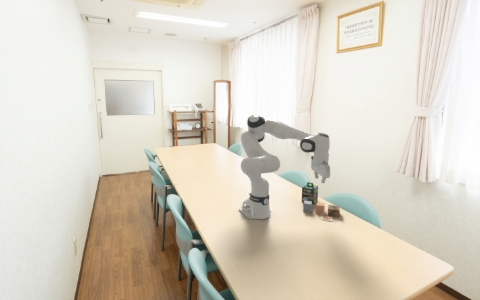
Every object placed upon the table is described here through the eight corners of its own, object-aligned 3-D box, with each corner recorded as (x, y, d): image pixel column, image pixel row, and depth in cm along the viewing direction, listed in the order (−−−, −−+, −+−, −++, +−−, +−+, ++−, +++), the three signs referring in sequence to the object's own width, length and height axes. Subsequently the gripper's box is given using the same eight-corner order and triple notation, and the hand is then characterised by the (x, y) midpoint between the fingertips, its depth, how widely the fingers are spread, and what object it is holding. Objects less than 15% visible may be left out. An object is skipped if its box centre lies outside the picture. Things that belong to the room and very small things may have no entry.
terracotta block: (316, 213, 174) (316, 205, 173) (316, 210, 179) (317, 202, 177) (323, 214, 172) (324, 206, 171) (324, 211, 177) (324, 203, 176)
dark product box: (317, 200, 195) (319, 181, 192) (313, 205, 187) (314, 185, 184) (305, 198, 200) (306, 179, 197) (301, 201, 193) (302, 182, 189)
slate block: (303, 211, 177) (303, 203, 175) (303, 208, 181) (304, 200, 180) (310, 212, 175) (311, 204, 174) (311, 209, 180) (311, 201, 178)
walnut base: (327, 216, 171) (328, 208, 170) (327, 211, 177) (328, 204, 176) (339, 217, 169) (339, 210, 167) (338, 213, 175) (339, 206, 174)
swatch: (320, 219, 165) (320, 219, 165) (320, 215, 171) (321, 215, 170) (332, 221, 163) (332, 220, 163) (332, 217, 168) (332, 216, 168)
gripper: (333, 163, 154) (332, 185, 157) (319, 155, 174) (317, 175, 177) (323, 163, 153) (322, 186, 156) (309, 155, 173) (308, 175, 176)
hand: (319, 180), depth 167 cm, fingers open, 8 cm apart
